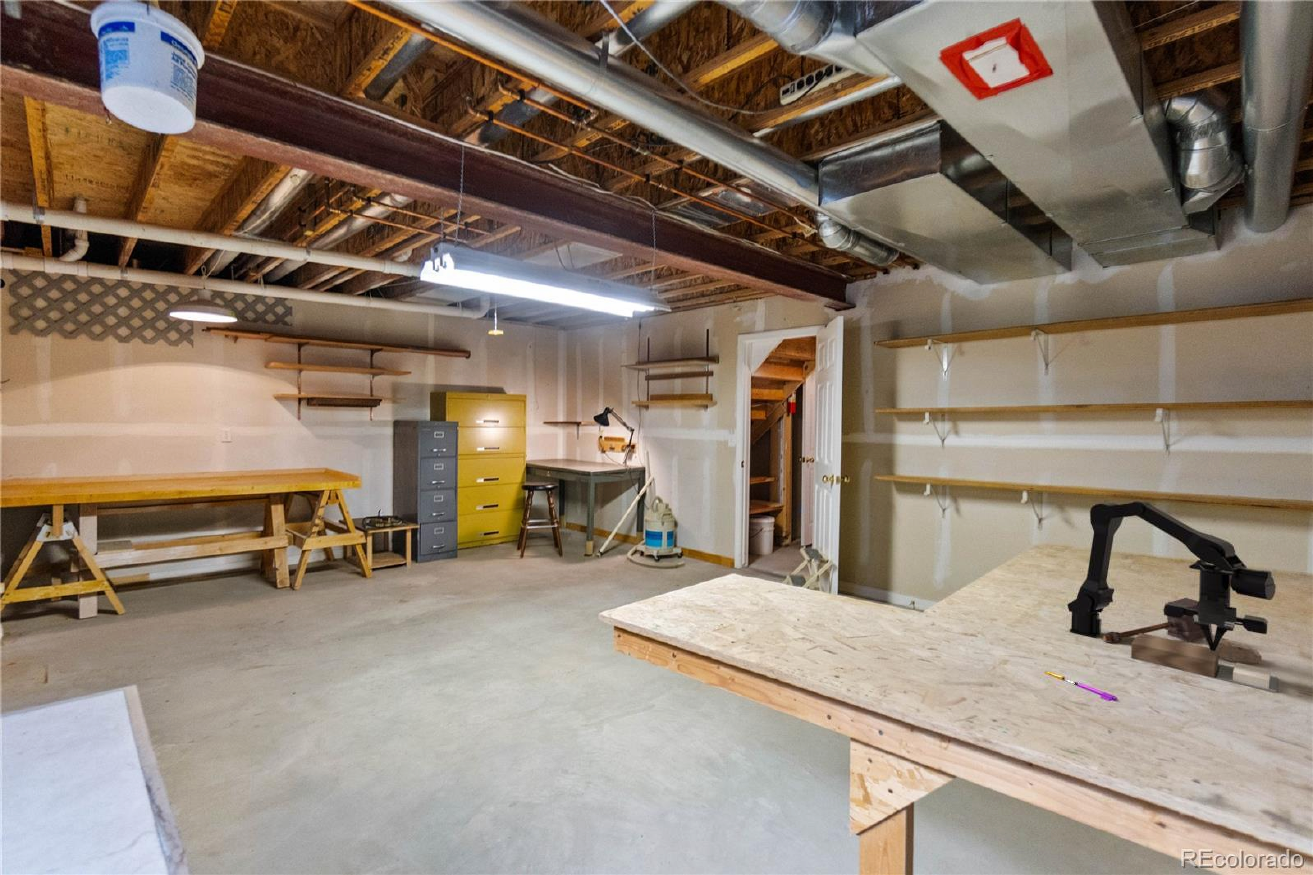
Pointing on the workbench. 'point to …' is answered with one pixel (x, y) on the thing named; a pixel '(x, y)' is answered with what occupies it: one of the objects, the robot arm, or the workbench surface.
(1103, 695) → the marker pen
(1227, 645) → the stone
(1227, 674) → the mat
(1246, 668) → the cream rectangular block
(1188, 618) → the hammer
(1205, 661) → the plate
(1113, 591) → the robot arm
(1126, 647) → the workbench surface
